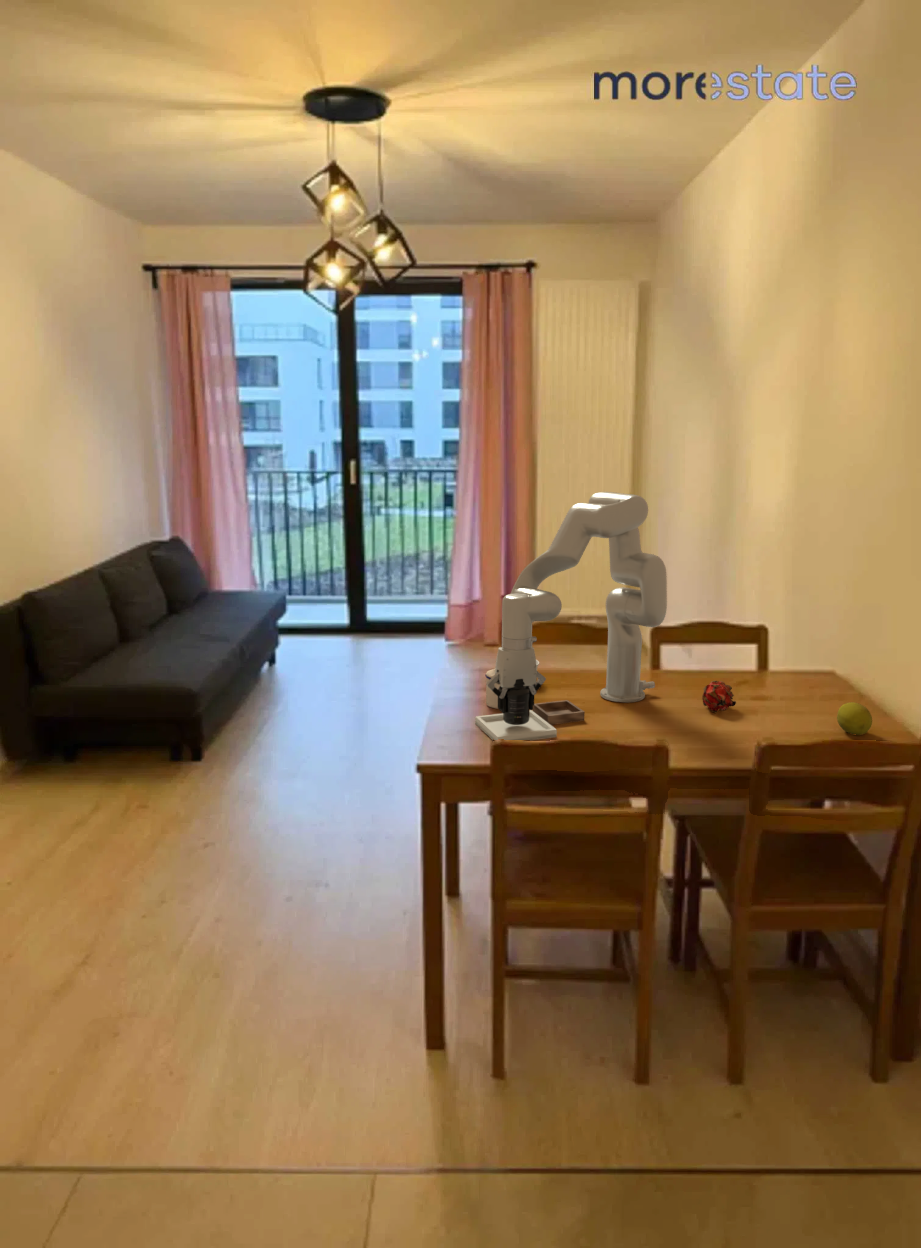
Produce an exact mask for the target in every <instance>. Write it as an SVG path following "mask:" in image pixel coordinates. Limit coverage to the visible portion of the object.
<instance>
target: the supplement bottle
mask: <svg viewBox="0 0 921 1248" xmlns="http://www.w3.org/2000/svg"><path fill="white" fill-rule="evenodd" d="M523 685H525V683H524V682H523V679H517V680H516V682H515V684H514V686H515V687H513V688H508V690H507V692H506V694H505V697H504V698H506V713H503V720H504V722H506V723H508V724H511V725H522V724H525V723H527V722H528V721H529V715H530V690H529V688H528V687H527V686H523Z"/></svg>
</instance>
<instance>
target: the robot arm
mask: <svg viewBox="0 0 921 1248" xmlns="http://www.w3.org/2000/svg"><path fill="white" fill-rule="evenodd" d="M648 505H649V504H648V502H647V500H646V499H645V498H644V497H642V496H641V495H637V494H633V493H631V494H630V493H620V492H612V491H599V492H595V493H593V494H592V495H591V496H590V498H589V499H588V502H577V503H575V504H573V505H572V506H571V507H570V508H569V509H568V511H567V513H566V515H565V516H564V518H563V521H562V523H561V524H560V526H559V527H558V528H559V529H558V530H557V533H555V536H554V538H553V539H552V542H551V544H550V546H549V547H548V549H547V550H546V551H544V552H543V553H541V554H540V555H538V556H537V557H536V558H535V559H534V560H532V561H530V563H528V564H527V565H526V566H525V567H524V569H523V570H522V571H521V572H520V574H519V576H518V577H517V580H516V581H515V583H514V585H513V587H512V589H511V592H510V593H509V594H506V595H504V597H503V598H502V602H501V603H502V604H501V605H502V606H501V607H502V608H501V613H502V614H501V646H500V647H498V649H497V654H496V661H495V667H494V668H495V675H494V676H493V677H492V678H491V679H490V680H489V681H488V682H487V683H486V682H485V684H486V685H487V686H488V687H489V688H490V689H491V690H492V691H493V692H494V693H495V694H496V695H497V696H498V710H499V711H500V712H501V714H502V713H506V698H504V697H505V694H506V692H507V690H508V688H513V687H515V686H514V684H515V682H516V680H517V679H523V682H524V683H525V685H523V686H527V687H528V688H529V690H530V710H532V711H533V706H534V704H535V695H537V691H538V690H540V689H541V687H542V685H543V684H544V683H545V681H546V679H547V677H545V676H544V675H543V674H542V673H540V672H539V671H538V667H537V666H536V660H537V659H536V658H537V657H536V652H535V647H533V643H537V637H536V636H533V633H532V632H533V623H534V622H548V621H552V620H554V619H556V618H557V617H558V616H559V615H560V613H561V612H562V611H561V610H562V605H563V604H562V601H561V599H560V597H559V596H558V594H556V593H554V592H551V591H548V590H542V589H538V587H539V586H540V585H541V583H543V582H544V581H545V580H546V579H547V578H549V577H551V576H552V575H556V574H558V573H562V572H564V571H567V570H570V569H572V568H574V567H576V566H577V565H578V564H579V562H580V561H581V559H582V556H583V554H584V552H585V550H586V549H587V547H588V545H589V544H590V541H591V539H592V538H593V537H594V538H602V539H608V546H609V547H608V548H609V549H608V552H609V571H610V572H609V573H610V577H611V579H612V580H613V582H616V583H617V584H621V585H624V586H629V587H623V586H622V587H616V588H613V590H611V591H610V592H609V593H608V594H607V597H606V599H605V614H606V618H607V620H606V621H607V630H608V631H607V655H606V656H607V659H606V677H605V678H606V680H605V683H606V684H605V687H604V688H602V689H601V690H600V692H599V693H600V694H599V695H600V696H601V698H603V699H605V700H608V701H610V702H615V703H635V702H640V701H642V700H644V699H645V697H646V693H645V692H644V691H645V690H646V689H654V688H656V684H655V681H647V680H641V668H642V666H641V665H642V645H643V637H642V636H643V635H642V631H641V628H640V626H641V627H646V628H656V627H659V626H661V624H662V623H663V622H664V620H665V618H666V614H667V610H668V609H667V607H668V601H667V600H668V597H667V596H668V593H667V592H668V591H667V587H668V586H667V584H668V583H667V578H668V577H667V569H666V565H665V563H664V561H663V559H662V558H661V557H660V556H658V555H656V554H654V553H647V552H643V551H642V547H641V535H640V529H639V527H640V526H641V525H642V524H643V523H644V522H645V521H646V519H647V518H648V515H649V506H648ZM631 587H635V588H636V589H635V588H631ZM637 588H639V589H637ZM495 683H497V684H500V685H499V687H498V689H497V688H496V687H495V686H494V684H495ZM538 692H539V691H538Z"/></svg>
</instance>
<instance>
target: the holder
mask: <svg viewBox="0 0 921 1248" xmlns="http://www.w3.org/2000/svg"><path fill="white" fill-rule="evenodd" d="M532 711H533V712H535V713H536V714H537V715H538V716H540V717H541V718H542V719H544V720H545V721H546V722H547V723H549V724H550V725H551V726H554V725H559V724H567V723H568V724H569V723H577V722H584V721H585V715H586V714H585V712H586V711H585V710H583V709H582V708H580V707H579V706H577V705H575V704H574V703H573V702H571V701H569V700H568V699H564V700H556V701H555V700H554V701H546V702H538V703H534V706H533V710H532Z"/></svg>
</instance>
